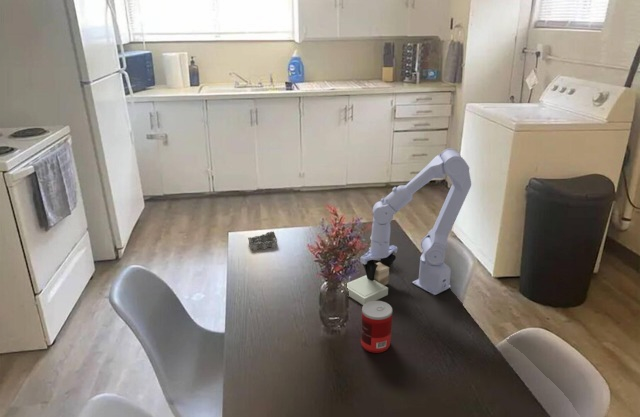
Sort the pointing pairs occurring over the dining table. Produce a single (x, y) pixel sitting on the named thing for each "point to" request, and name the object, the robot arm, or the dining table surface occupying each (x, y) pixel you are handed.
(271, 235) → the egg carton
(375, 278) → the beech block
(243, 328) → the dining table surface
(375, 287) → the plinth
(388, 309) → the canned food
